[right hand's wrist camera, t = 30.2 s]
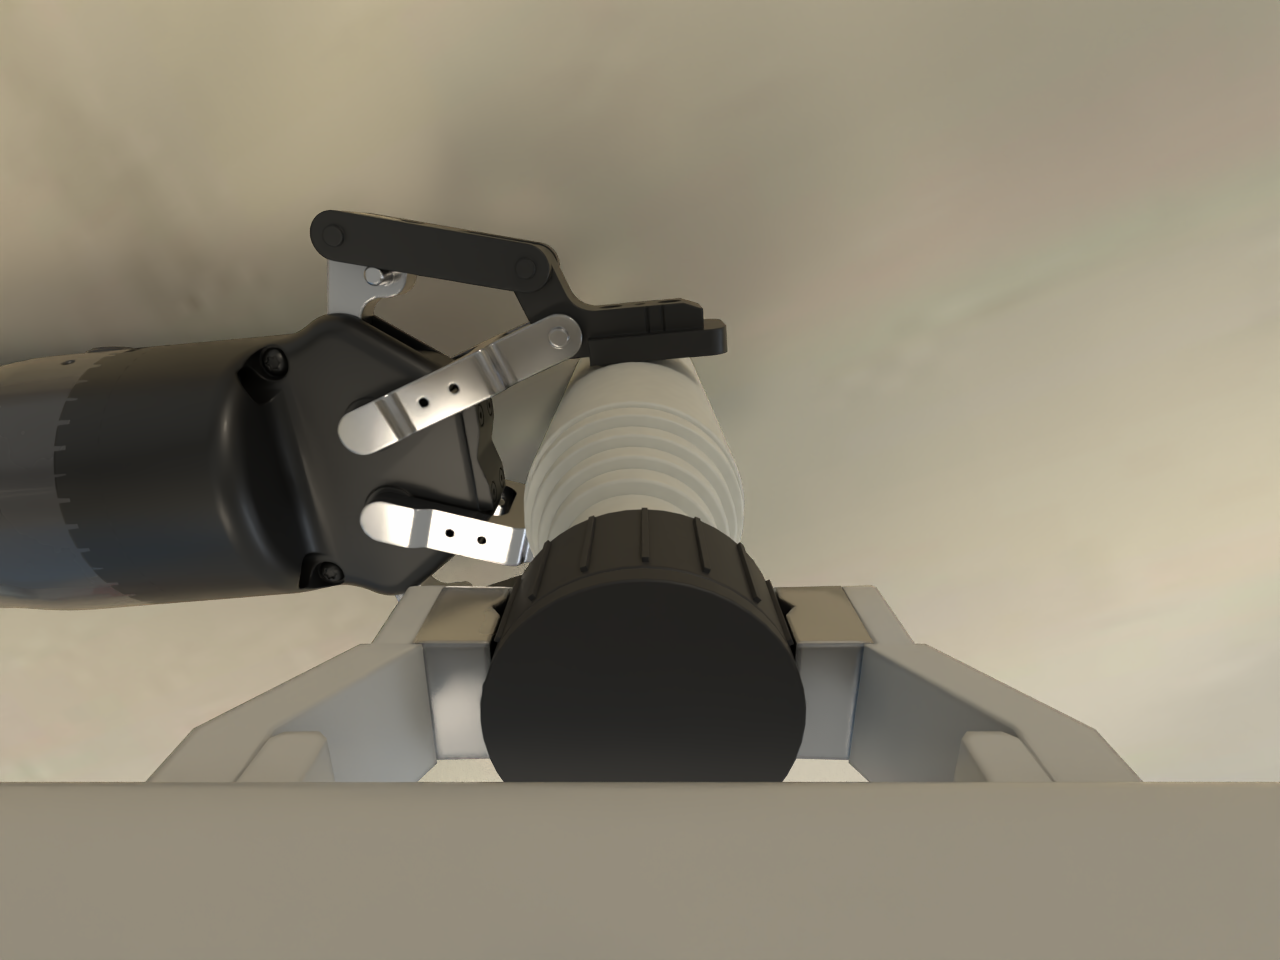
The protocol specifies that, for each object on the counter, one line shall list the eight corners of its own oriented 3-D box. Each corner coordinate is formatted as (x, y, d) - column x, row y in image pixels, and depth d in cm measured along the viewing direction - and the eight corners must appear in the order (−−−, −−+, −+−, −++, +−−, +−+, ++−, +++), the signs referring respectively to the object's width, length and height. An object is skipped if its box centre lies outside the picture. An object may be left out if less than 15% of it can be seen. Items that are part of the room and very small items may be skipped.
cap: (499, 502, 9) (461, 573, 7) (790, 505, 9) (829, 577, 7) (513, 736, 11) (486, 847, 9) (767, 739, 11) (796, 851, 9)
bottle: (719, 408, 26) (860, 705, 10) (615, 469, 27) (584, 838, 11) (656, 300, 25) (694, 432, 8) (548, 368, 26) (390, 611, 9)
